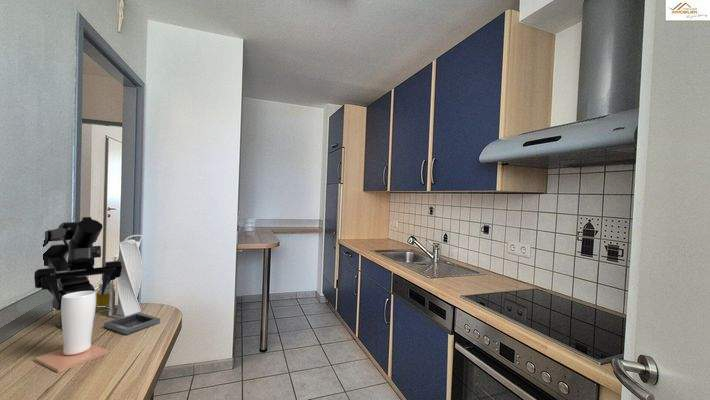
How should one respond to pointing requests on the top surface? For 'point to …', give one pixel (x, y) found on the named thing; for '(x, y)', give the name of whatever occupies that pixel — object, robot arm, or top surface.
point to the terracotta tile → (69, 358)
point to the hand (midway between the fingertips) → (81, 298)
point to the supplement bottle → (103, 298)
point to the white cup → (77, 321)
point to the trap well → (131, 323)
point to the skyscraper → (127, 280)
